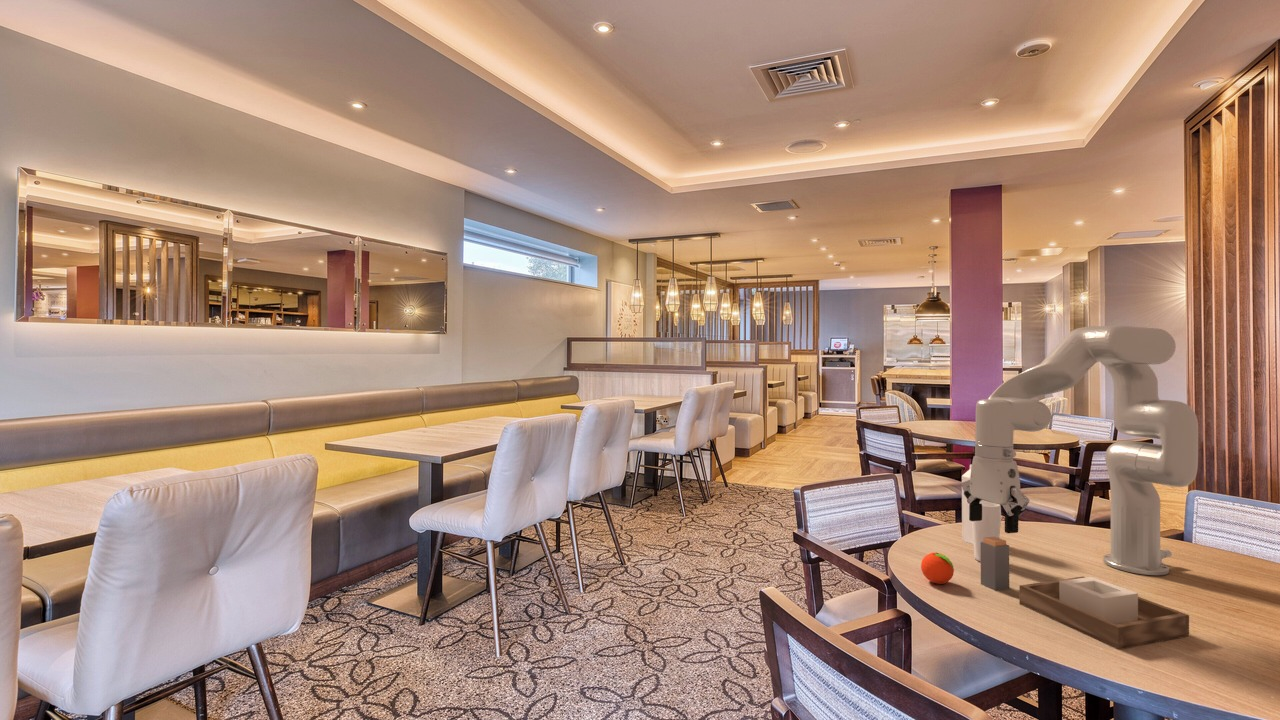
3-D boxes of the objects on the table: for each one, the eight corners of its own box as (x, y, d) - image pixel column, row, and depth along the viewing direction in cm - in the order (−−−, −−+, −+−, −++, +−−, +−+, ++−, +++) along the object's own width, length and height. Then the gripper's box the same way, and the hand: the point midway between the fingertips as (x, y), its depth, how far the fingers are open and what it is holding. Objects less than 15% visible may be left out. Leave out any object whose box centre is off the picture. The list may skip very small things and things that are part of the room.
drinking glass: (1005, 566, 146) (1005, 507, 146) (976, 564, 147) (976, 506, 147) (994, 556, 152) (994, 500, 152) (967, 555, 154) (966, 499, 154)
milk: (979, 547, 160) (978, 468, 160) (961, 540, 166) (961, 464, 166) (996, 545, 162) (995, 467, 162) (978, 538, 168) (977, 463, 168)
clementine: (965, 587, 133) (964, 556, 133) (943, 592, 130) (943, 561, 130) (935, 575, 140) (935, 546, 140) (914, 579, 137) (914, 550, 137)
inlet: (1091, 601, 123) (1091, 576, 123) (1137, 620, 114) (1137, 593, 114) (1059, 606, 121) (1059, 581, 121) (1103, 626, 112) (1103, 598, 112)
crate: (1083, 594, 128) (1083, 576, 128) (1189, 636, 109) (1189, 615, 109) (1019, 603, 124) (1019, 585, 124) (1118, 649, 104) (1118, 627, 104)
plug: (994, 582, 136) (994, 535, 136) (1009, 588, 132) (1009, 541, 132) (980, 584, 135) (980, 537, 135) (995, 590, 131) (995, 542, 131)
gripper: (1041, 458, 126) (1040, 536, 126) (976, 446, 142) (975, 515, 142) (1014, 459, 124) (1013, 539, 124) (951, 447, 140) (950, 517, 140)
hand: (992, 526), depth 133 cm, fingers open, 9 cm apart
